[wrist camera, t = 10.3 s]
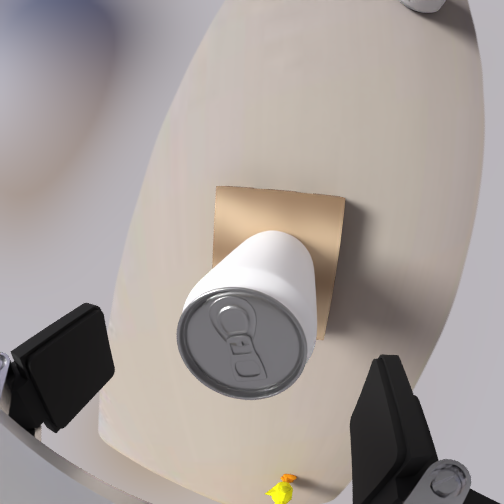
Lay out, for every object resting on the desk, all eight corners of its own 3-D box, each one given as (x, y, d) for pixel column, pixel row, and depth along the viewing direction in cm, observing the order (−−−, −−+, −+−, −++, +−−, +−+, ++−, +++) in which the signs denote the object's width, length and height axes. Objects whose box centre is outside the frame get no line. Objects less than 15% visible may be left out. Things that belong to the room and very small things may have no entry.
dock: (226, 186, 25) (216, 186, 22) (340, 196, 23) (345, 198, 21) (220, 310, 28) (211, 324, 25) (322, 324, 26) (323, 340, 23)
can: (304, 221, 22) (301, 261, 10) (320, 299, 23) (327, 399, 11) (224, 239, 23) (147, 290, 12) (245, 312, 24) (195, 407, 13)
